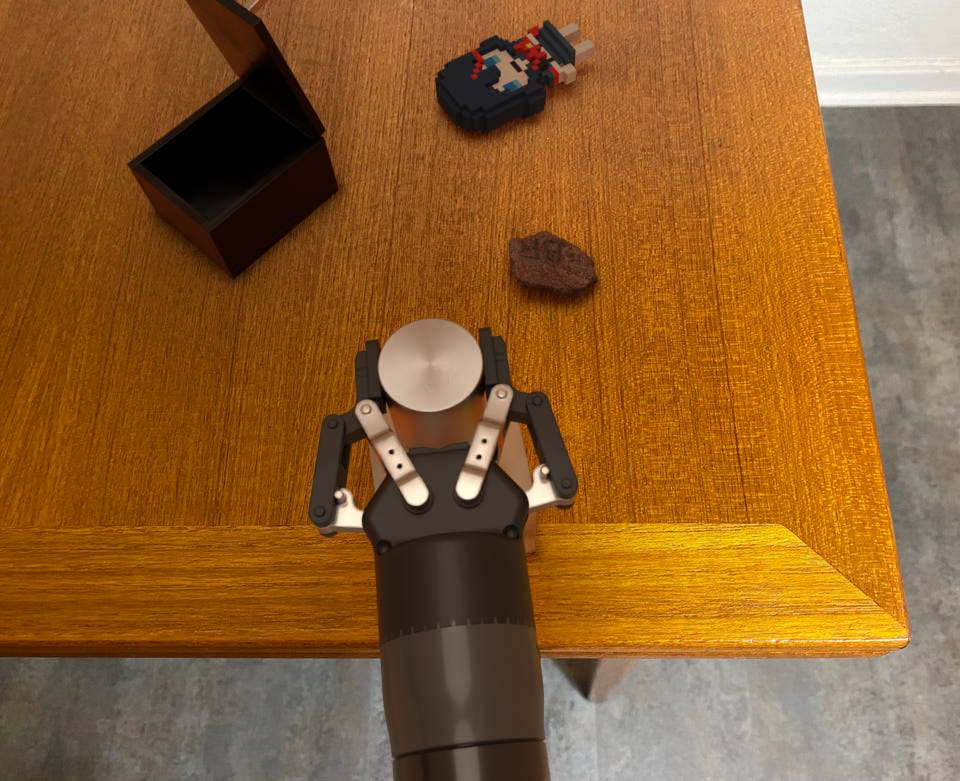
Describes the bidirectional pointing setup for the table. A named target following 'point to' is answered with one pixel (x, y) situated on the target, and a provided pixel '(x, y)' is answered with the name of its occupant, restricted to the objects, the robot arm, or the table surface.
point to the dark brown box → (236, 176)
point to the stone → (551, 265)
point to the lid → (255, 55)
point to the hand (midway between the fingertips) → (429, 341)
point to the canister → (433, 383)
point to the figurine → (509, 77)
